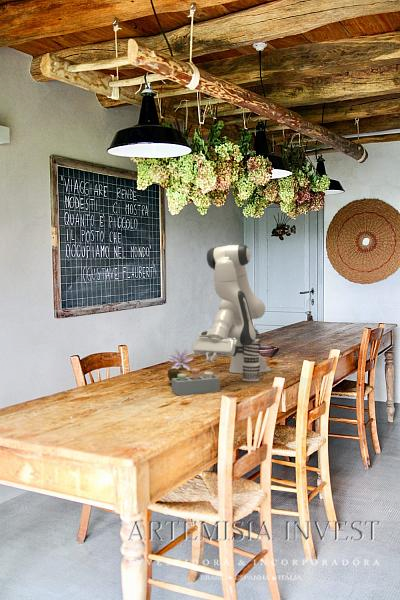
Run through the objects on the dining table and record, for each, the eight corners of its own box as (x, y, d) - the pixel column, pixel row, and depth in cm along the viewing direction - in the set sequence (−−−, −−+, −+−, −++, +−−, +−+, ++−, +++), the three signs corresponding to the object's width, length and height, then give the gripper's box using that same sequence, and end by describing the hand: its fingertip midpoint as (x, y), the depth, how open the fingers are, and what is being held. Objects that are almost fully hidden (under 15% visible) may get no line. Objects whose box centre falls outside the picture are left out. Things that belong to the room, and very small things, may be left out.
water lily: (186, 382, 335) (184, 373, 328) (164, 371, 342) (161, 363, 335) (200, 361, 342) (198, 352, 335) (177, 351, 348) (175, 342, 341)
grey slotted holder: (212, 387, 288) (212, 374, 287) (219, 391, 279) (219, 378, 279) (171, 391, 281) (171, 378, 280) (178, 395, 272) (178, 382, 272)
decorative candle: (259, 381, 298) (259, 330, 297) (240, 381, 300) (240, 330, 299) (261, 378, 307) (261, 328, 306) (243, 378, 309) (243, 328, 308)
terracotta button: (198, 383, 282) (198, 368, 282) (201, 384, 279) (201, 369, 278) (190, 383, 281) (189, 368, 280) (193, 385, 277) (192, 370, 277)
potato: (191, 382, 302) (191, 365, 301) (176, 386, 291) (175, 370, 290) (177, 380, 306) (177, 364, 306) (162, 385, 295) (161, 368, 295)
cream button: (211, 386, 285) (211, 371, 284) (214, 387, 281) (214, 372, 281) (203, 386, 283) (203, 371, 283) (206, 388, 280) (206, 373, 279)
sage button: (184, 388, 280) (184, 373, 280) (187, 390, 276) (187, 374, 276) (176, 389, 279) (176, 374, 278) (179, 391, 275) (179, 375, 274)
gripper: (240, 342, 287) (232, 366, 279) (201, 340, 296) (192, 364, 288) (236, 334, 283) (228, 358, 275) (196, 332, 292) (187, 356, 284)
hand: (209, 361), depth 282 cm, fingers closed
